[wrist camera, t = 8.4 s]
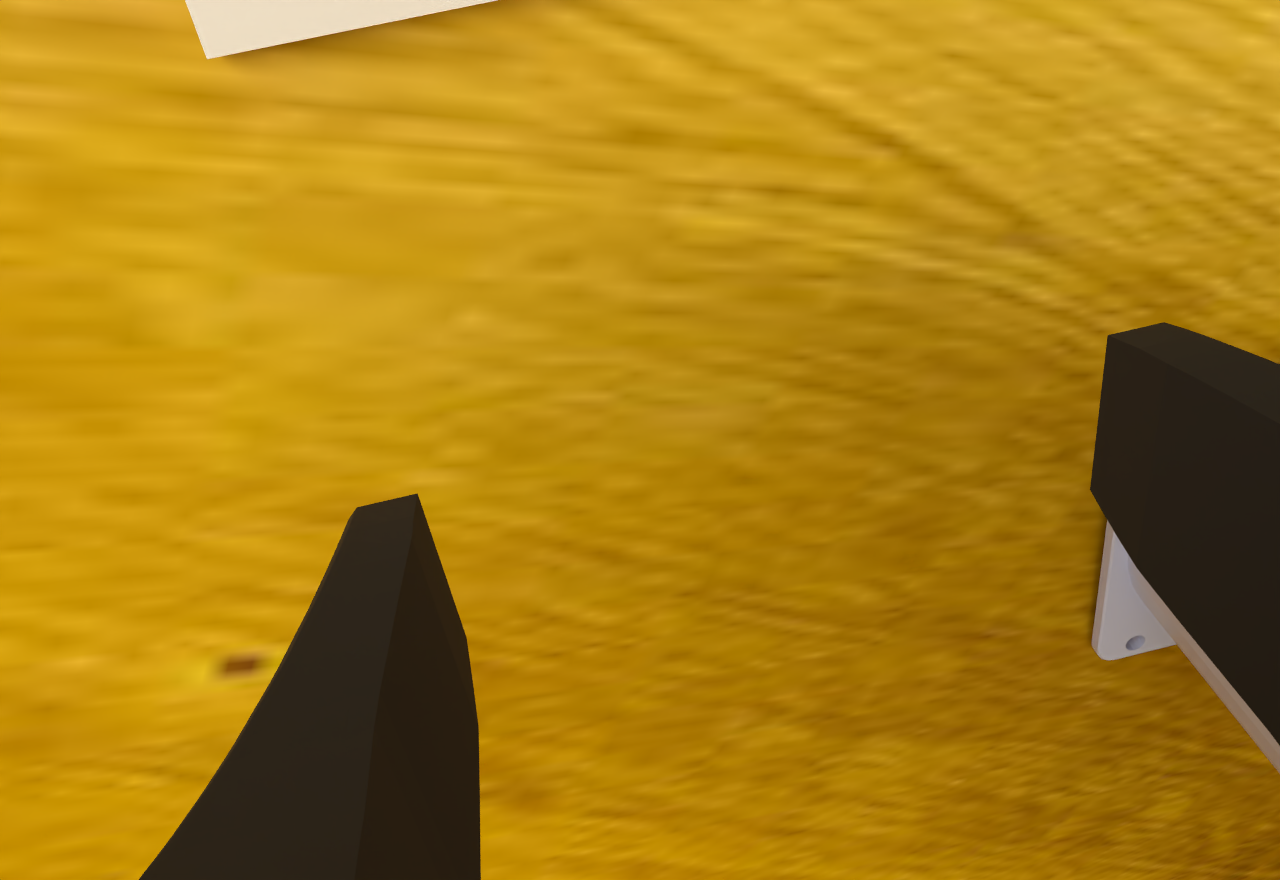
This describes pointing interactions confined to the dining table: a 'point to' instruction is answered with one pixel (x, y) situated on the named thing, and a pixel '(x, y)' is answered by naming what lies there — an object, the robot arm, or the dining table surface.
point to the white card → (296, 19)
